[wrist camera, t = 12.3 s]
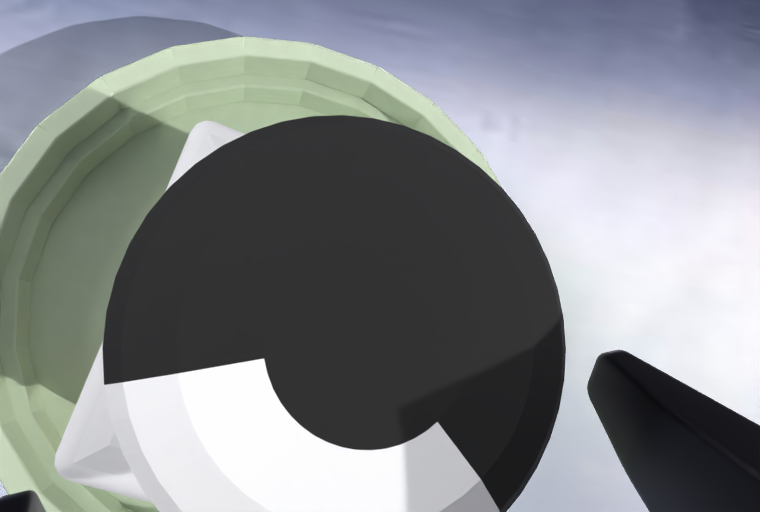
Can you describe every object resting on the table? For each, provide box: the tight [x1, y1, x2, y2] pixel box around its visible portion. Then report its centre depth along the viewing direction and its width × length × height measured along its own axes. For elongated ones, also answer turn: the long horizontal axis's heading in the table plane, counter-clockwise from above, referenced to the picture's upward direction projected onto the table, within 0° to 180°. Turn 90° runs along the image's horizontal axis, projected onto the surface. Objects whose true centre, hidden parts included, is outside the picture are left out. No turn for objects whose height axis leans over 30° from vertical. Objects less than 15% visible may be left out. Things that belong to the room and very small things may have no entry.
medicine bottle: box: [54, 115, 566, 512], centre depth 13 cm, size 7×7×12 cm
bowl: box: [0, 36, 501, 512], centre depth 18 cm, size 15×15×3 cm
